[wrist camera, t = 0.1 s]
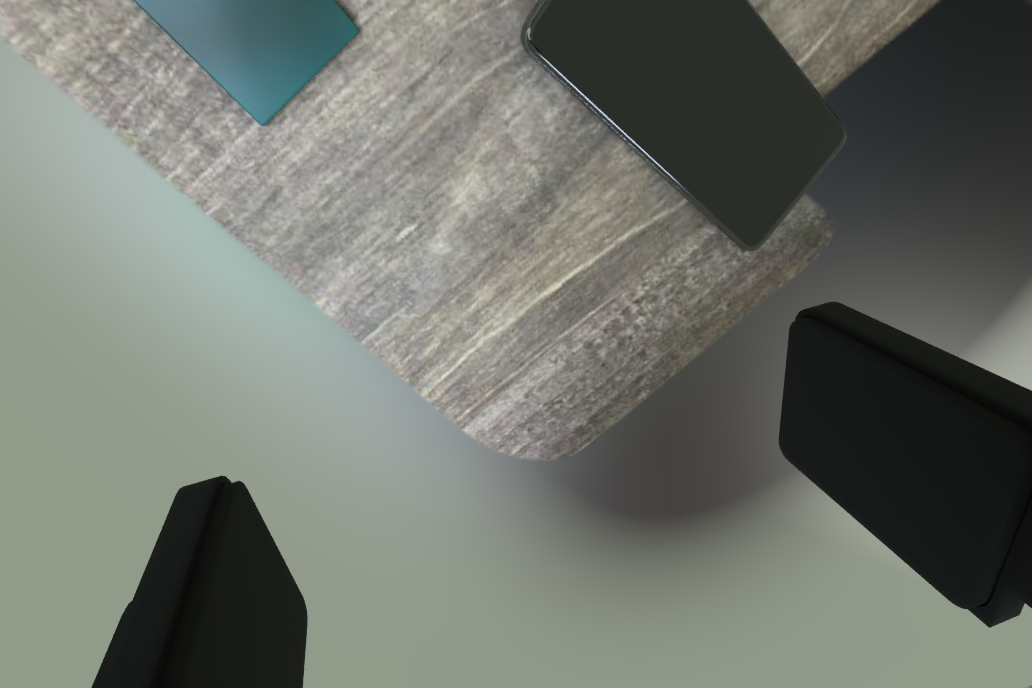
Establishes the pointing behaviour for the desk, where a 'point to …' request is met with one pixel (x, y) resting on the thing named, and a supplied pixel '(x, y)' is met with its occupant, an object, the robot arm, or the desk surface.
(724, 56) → the smartphone
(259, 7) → the spatula
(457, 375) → the desk surface
